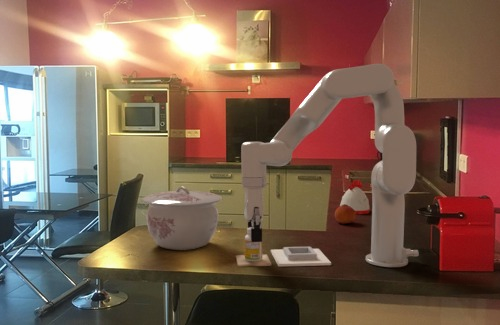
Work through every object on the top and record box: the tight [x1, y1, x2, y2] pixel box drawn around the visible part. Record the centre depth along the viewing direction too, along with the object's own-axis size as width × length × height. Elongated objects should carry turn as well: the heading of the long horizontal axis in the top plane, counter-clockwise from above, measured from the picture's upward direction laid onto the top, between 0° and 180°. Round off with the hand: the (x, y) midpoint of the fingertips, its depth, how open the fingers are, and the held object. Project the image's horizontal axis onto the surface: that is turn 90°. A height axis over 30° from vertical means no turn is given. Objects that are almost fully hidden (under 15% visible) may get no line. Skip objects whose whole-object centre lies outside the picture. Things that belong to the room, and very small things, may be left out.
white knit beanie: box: [339, 179, 370, 215], centre depth 234 cm, size 14×14×15 cm
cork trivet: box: [235, 254, 272, 267], centre depth 151 cm, size 10×10×1 cm
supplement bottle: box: [244, 227, 263, 262], centre depth 151 cm, size 5×5×10 cm
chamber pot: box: [141, 185, 223, 251], centre depth 169 cm, size 28×28×21 cm
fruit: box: [334, 204, 357, 225], centre depth 207 cm, size 9×9×8 cm
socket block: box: [270, 246, 332, 268], centre depth 155 cm, size 16×16×2 cm
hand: (254, 237), depth 151 cm, fingers open, 9 cm apart
